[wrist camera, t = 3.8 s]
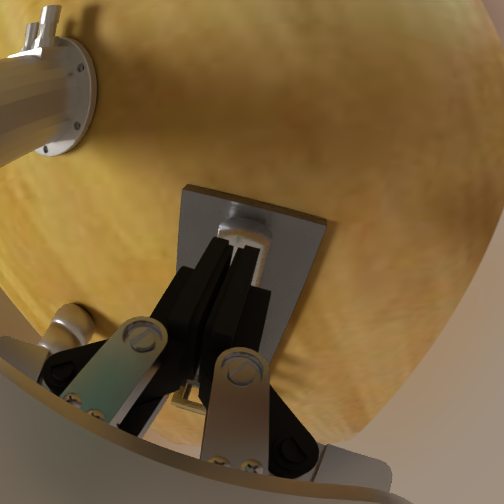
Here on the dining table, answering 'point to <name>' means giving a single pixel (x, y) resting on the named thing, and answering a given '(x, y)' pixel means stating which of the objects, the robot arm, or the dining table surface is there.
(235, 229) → the tube
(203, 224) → the plate
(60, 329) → the plastic bottle
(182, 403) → the aperture bridge
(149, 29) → the dining table surface
